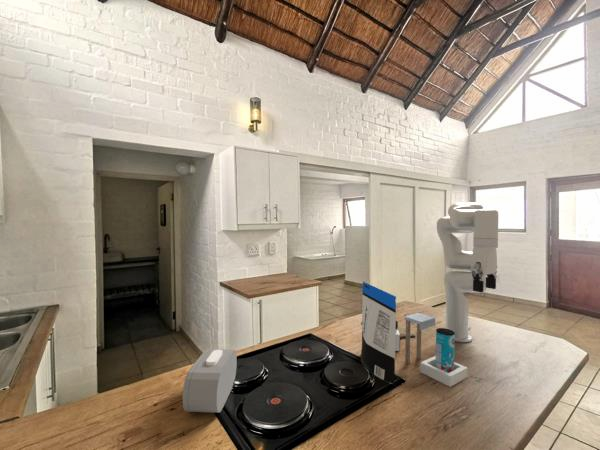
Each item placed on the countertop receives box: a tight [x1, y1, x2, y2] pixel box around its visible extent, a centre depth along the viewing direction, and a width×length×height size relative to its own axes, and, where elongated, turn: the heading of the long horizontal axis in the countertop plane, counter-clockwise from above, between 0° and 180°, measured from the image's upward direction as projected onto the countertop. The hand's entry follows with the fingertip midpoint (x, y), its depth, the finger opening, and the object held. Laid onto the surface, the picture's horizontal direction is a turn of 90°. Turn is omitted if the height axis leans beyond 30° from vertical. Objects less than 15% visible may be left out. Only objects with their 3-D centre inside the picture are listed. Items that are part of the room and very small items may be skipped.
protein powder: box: [360, 281, 397, 387], centre depth 104 cm, size 10×24×30 cm, turn 13°
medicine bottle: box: [395, 320, 401, 352], centre depth 122 cm, size 7×7×12 cm
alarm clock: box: [181, 348, 238, 414], centre depth 84 cm, size 21×10×13 cm, turn 178°
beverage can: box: [435, 327, 455, 373], centre depth 101 cm, size 6×6×15 cm
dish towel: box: [361, 321, 416, 340], centre depth 142 cm, size 17×23×2 cm
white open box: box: [404, 312, 468, 388], centre depth 103 cm, size 11×18×18 cm, turn 33°
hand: (484, 289), depth 102 cm, fingers open, 9 cm apart
